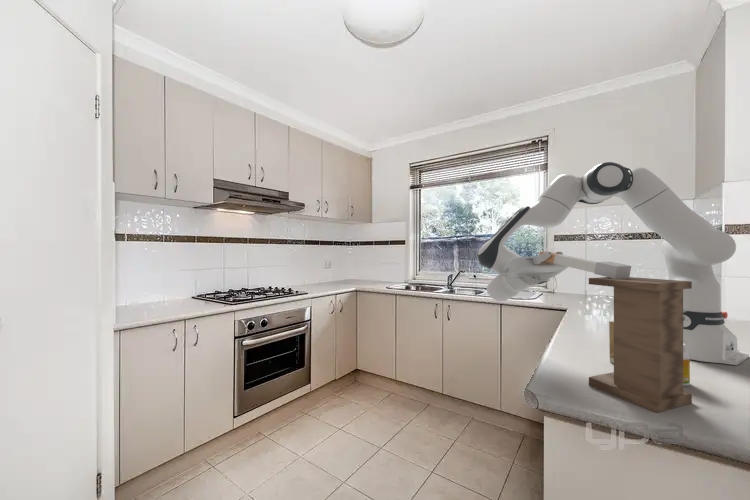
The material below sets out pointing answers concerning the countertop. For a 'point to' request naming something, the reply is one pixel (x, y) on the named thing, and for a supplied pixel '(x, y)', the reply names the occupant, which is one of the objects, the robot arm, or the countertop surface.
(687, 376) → the supplement bottle
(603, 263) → the grey tan flat bar
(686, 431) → the countertop surface
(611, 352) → the skincare box
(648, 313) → the stand
